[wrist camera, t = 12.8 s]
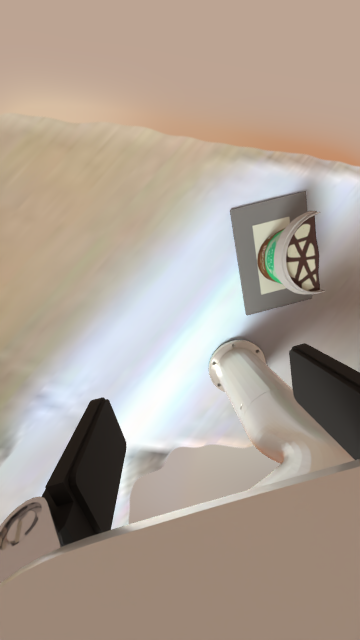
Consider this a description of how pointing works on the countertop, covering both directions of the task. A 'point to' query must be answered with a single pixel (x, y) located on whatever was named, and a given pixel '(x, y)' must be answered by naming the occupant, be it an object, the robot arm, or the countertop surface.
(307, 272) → the food container
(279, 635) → the robot arm
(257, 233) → the mat
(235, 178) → the countertop surface
